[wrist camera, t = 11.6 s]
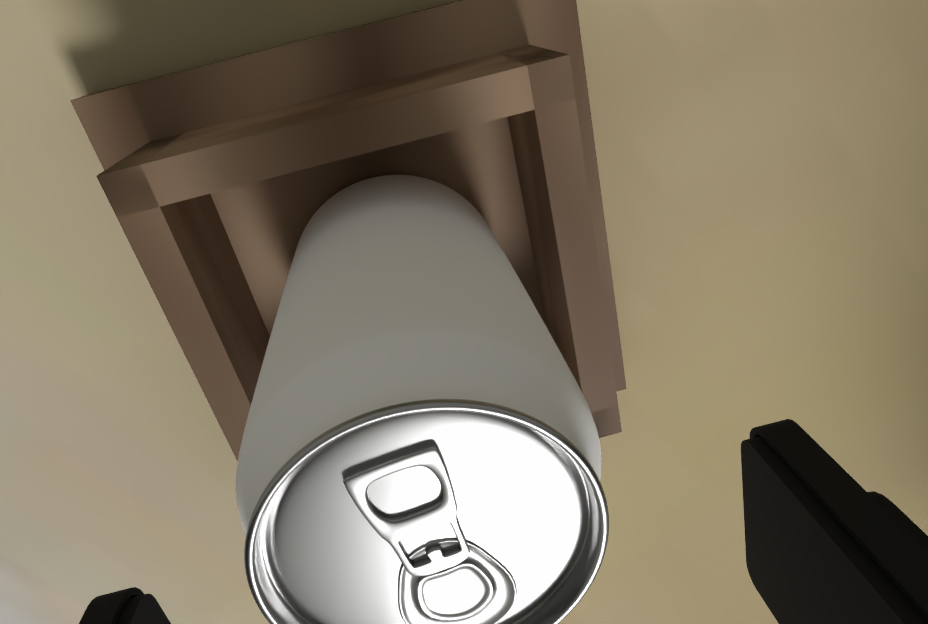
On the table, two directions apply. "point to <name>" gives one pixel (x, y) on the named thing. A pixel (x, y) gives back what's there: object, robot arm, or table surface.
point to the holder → (363, 174)
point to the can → (415, 429)
